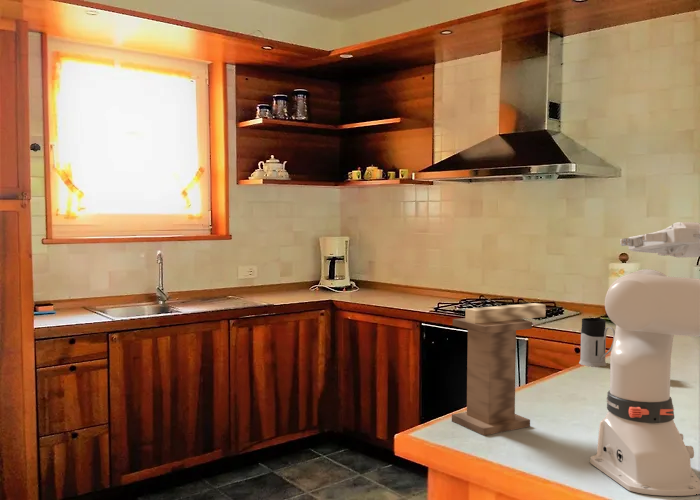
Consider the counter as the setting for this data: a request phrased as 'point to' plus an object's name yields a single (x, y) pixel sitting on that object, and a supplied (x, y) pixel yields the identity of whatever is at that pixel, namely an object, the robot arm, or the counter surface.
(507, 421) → the walnut pedestal
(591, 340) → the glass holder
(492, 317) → the maple bar
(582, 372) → the counter surface
